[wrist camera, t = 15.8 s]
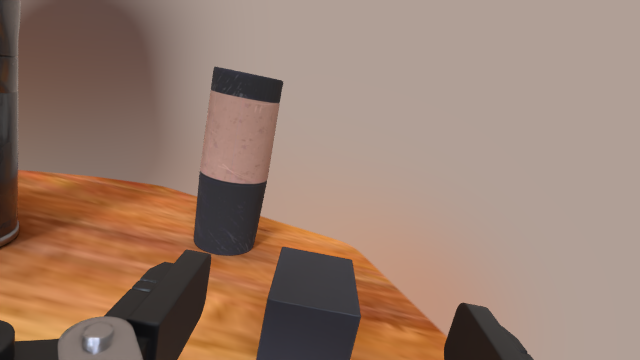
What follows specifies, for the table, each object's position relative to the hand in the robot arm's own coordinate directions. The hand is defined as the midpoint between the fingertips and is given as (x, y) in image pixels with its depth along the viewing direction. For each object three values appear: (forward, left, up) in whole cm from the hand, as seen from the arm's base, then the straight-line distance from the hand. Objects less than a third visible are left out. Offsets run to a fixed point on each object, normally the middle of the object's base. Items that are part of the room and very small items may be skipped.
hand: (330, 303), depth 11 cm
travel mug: (-18, +27, -14) cm, 35 cm away
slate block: (-2, +8, -13) cm, 16 cm away
